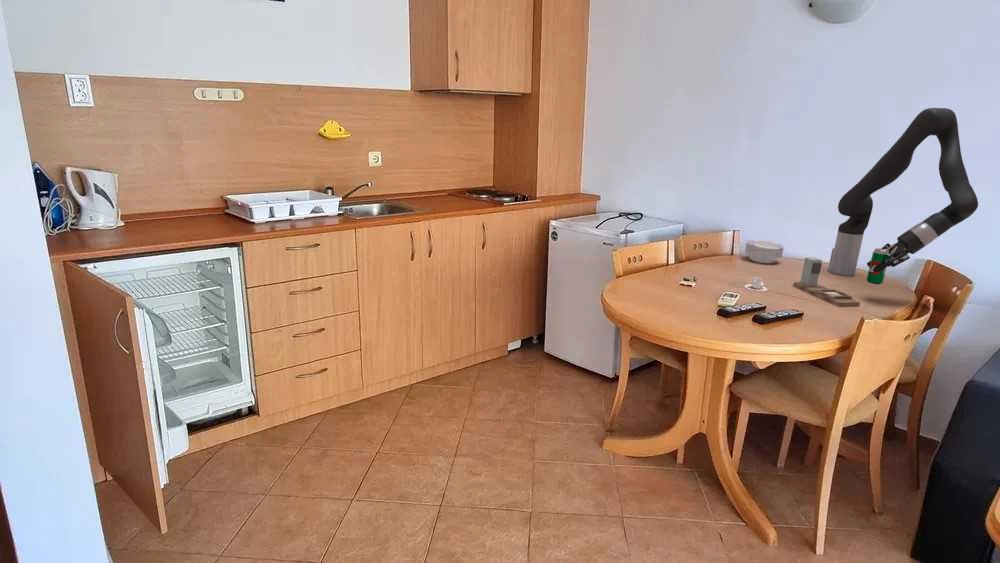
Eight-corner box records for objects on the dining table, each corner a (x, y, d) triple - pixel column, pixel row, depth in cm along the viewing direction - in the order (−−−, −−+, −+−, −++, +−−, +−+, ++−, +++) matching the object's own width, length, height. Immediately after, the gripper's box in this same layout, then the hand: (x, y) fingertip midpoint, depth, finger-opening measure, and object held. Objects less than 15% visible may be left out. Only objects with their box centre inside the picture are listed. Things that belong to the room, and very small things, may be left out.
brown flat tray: (793, 286, 227) (794, 280, 226) (811, 285, 228) (812, 279, 228) (839, 306, 204) (840, 300, 204) (859, 306, 206) (860, 299, 205)
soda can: (884, 285, 209) (893, 252, 206) (869, 284, 210) (877, 251, 206) (879, 281, 214) (887, 248, 210) (863, 279, 215) (871, 247, 211)
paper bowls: (787, 266, 257) (790, 248, 255) (752, 264, 256) (755, 246, 254) (771, 257, 271) (774, 240, 269) (738, 256, 271) (741, 239, 269)
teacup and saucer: (756, 284, 228) (758, 274, 227) (773, 290, 221) (775, 280, 220) (739, 286, 224) (741, 276, 223) (756, 293, 217) (758, 282, 216)
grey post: (800, 283, 226) (805, 257, 223) (809, 282, 227) (814, 257, 224) (808, 286, 221) (814, 260, 218) (818, 286, 222) (823, 260, 219)
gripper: (900, 225, 212) (857, 255, 217) (921, 234, 198) (874, 266, 203) (913, 240, 213) (869, 270, 218) (934, 251, 199) (887, 282, 204)
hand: (872, 268), depth 211 cm, fingers closed on soda can, 5 cm apart
